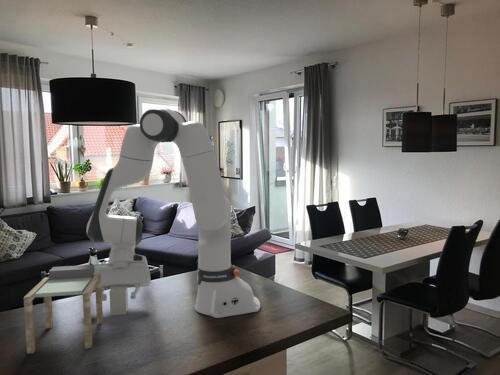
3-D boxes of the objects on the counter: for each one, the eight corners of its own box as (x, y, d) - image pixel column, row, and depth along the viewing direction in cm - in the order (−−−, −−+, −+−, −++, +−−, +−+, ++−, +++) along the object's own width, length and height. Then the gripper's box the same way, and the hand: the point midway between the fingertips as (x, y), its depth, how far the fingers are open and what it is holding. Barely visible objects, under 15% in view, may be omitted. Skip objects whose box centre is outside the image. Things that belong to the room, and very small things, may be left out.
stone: (128, 308, 136) (127, 285, 135) (126, 314, 131) (125, 290, 131) (113, 309, 135) (112, 286, 135) (110, 315, 130) (109, 291, 130)
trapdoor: (94, 276, 125) (94, 264, 125) (82, 294, 109) (81, 281, 109) (53, 278, 123) (53, 267, 123) (35, 297, 107) (34, 284, 107)
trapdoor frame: (102, 322, 125) (100, 274, 124) (91, 348, 109) (88, 293, 107) (47, 326, 123) (44, 277, 121) (27, 353, 106) (23, 297, 105)
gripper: (89, 259, 137) (83, 297, 128) (150, 256, 140) (148, 293, 132) (92, 268, 142) (87, 305, 133) (151, 265, 145) (150, 301, 136)
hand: (118, 299), depth 132 cm, fingers open, 8 cm apart
